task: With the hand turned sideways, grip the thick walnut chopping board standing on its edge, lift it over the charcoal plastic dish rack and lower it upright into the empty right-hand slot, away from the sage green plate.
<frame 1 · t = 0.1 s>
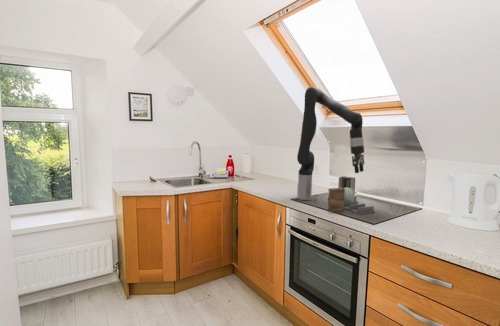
hand: (359, 172, 171), 22 cm above the hob, tool pointing down, fingers open, 8 cm apart
walnut board: (335, 210, 169), on the hob
coffee box: (345, 201, 192), on the hob
dish rack: (353, 208, 172), on the hob
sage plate: (346, 206, 178), resting on dish rack
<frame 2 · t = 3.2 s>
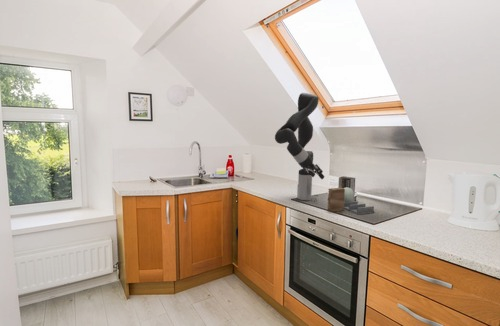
hand: (318, 177, 161), 21 cm above the hob, tool tilted 45°, fingers open, 8 cm apart
nothing on the hob moved.
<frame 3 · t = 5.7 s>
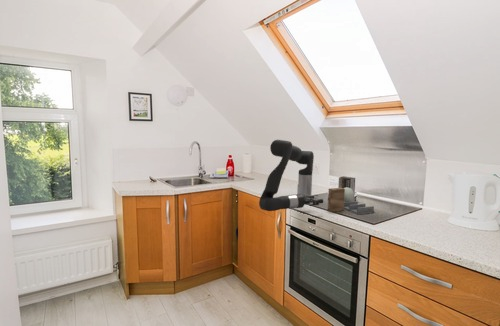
hand: (318, 199, 163), 8 cm above the hob, tool horizontal, fingers open, 8 cm apart
nothing on the hob moved.
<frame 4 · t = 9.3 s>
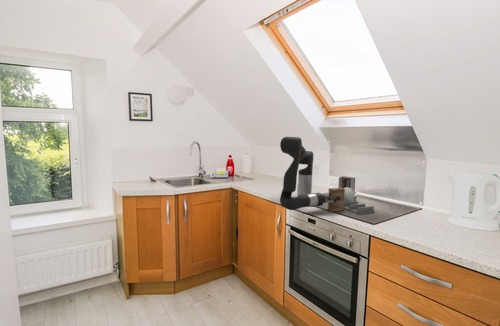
hand: (337, 197, 168), 8 cm above the hob, tool horizontal, fingers closed on walnut board, 3 cm apart
walnut board: (335, 210, 169), on the hob, touching gripper
everything else where it was.
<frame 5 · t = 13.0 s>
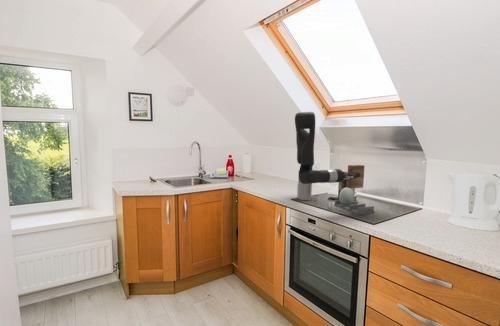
hand: (356, 174, 164), 22 cm above the hob, tool horizontal, fingers closed on walnut board, 3 cm apart
walnut board: (354, 187, 165), point 14 cm above the hob, touching gripper
everything else where it was.
when the fingers open (10 cm above the hob, at t = 16.7 s): walnut board drops 1 cm, resting on dish rack.
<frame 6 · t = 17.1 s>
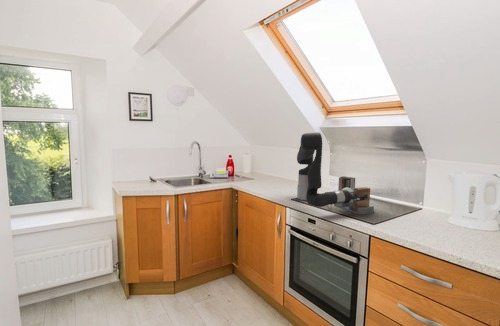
hand: (362, 194, 165), 10 cm above the hob, tool horizontal, fingers open, 7 cm apart
walnut board: (360, 209, 166), point 1 cm above the hob, touching dish rack
everything else where it was.
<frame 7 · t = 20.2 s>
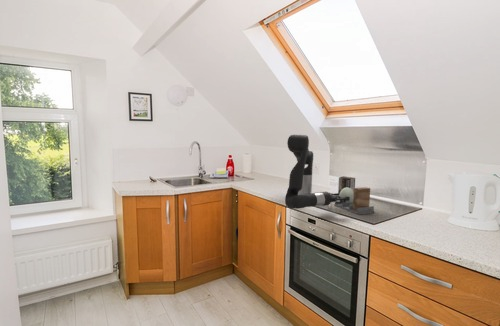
hand: (343, 196, 160), 10 cm above the hob, tool horizontal, fingers open, 8 cm apart
nothing on the hob moved.
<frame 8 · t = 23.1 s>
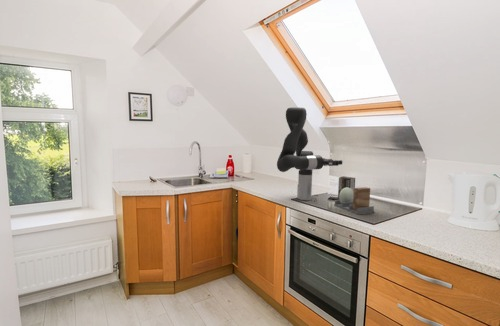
hand: (336, 161, 157), 30 cm above the hob, tool horizontal, fingers open, 8 cm apart
nothing on the hob moved.
at the end: walnut board 0.2 cm from the target spot on the dish rack, point 1.0 cm above the dish rack's base; walnut board tilted 0°; the gripper is holding nothing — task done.
